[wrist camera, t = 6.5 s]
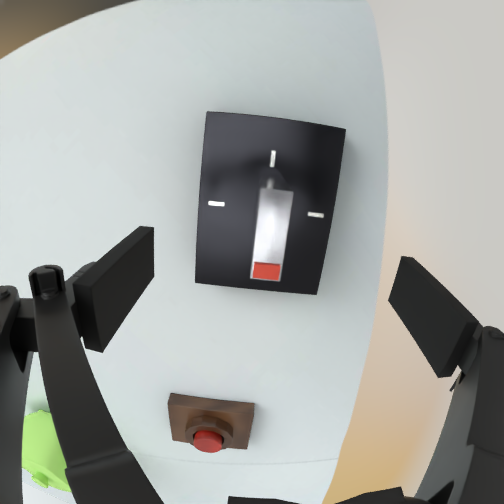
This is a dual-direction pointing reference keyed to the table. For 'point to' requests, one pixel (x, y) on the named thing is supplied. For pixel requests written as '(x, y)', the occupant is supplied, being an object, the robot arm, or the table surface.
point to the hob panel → (245, 192)
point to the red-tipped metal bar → (270, 227)
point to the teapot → (43, 451)
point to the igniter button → (208, 441)
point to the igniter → (210, 419)
